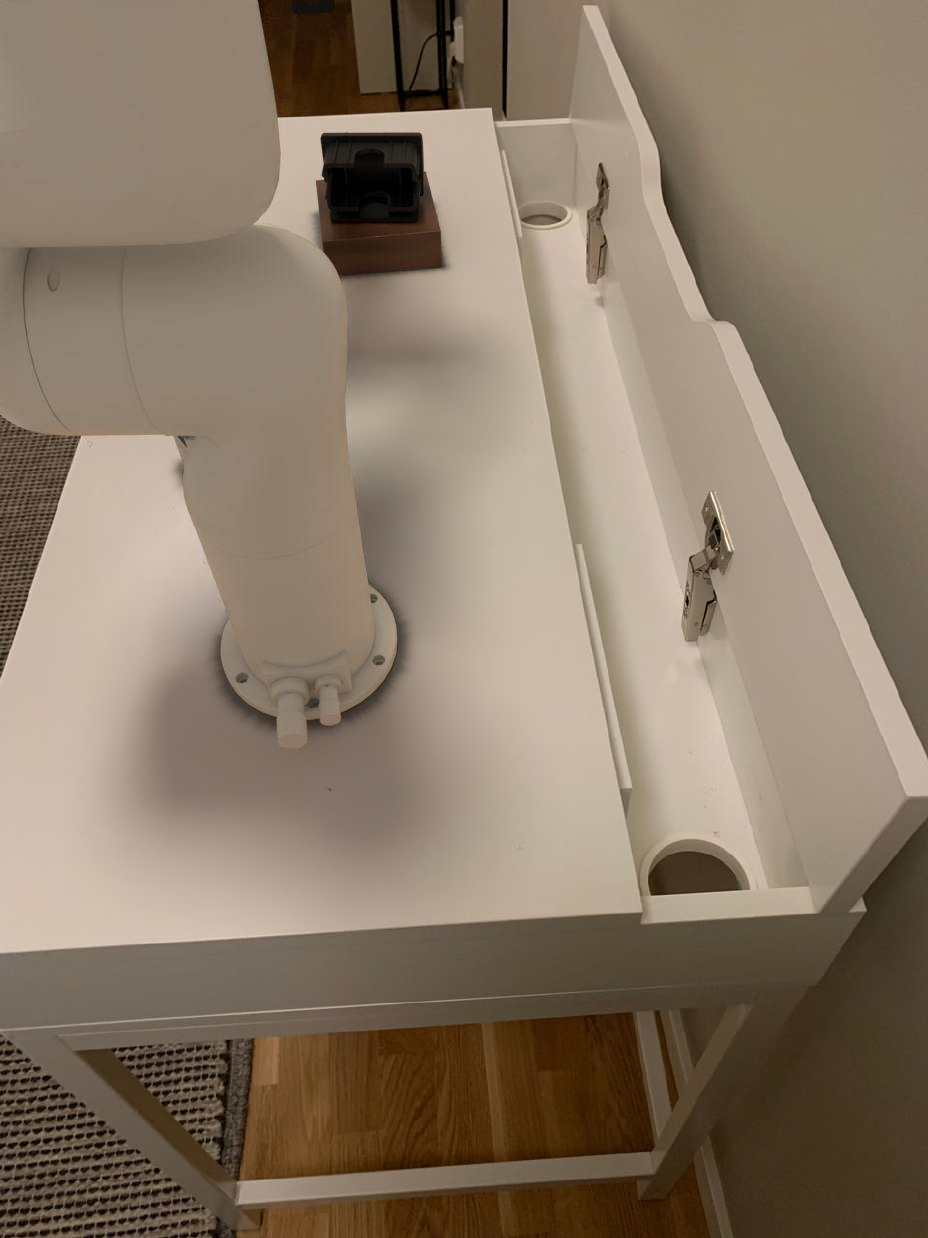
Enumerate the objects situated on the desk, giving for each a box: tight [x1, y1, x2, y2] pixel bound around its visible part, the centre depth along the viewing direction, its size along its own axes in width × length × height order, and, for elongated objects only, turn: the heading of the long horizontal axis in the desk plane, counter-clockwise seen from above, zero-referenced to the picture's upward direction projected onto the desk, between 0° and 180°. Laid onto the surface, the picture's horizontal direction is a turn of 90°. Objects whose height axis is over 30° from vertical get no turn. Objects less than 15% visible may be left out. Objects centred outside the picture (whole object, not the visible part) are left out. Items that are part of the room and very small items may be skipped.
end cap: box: [320, 131, 425, 223], centre depth 89 cm, size 10×7×7 cm
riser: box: [315, 170, 443, 277], centre depth 93 cm, size 12×12×4 cm
